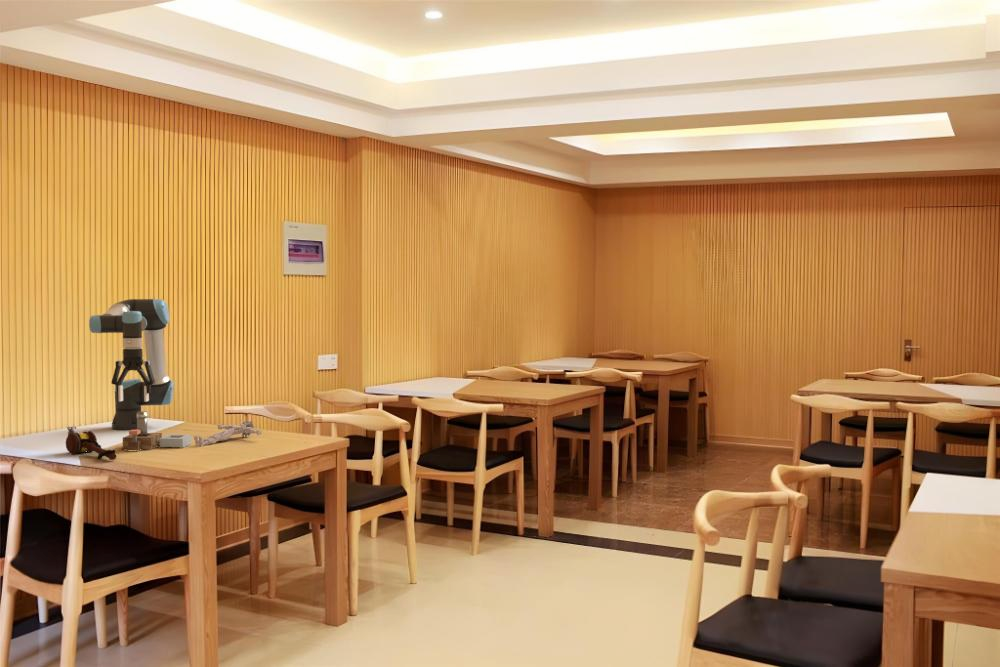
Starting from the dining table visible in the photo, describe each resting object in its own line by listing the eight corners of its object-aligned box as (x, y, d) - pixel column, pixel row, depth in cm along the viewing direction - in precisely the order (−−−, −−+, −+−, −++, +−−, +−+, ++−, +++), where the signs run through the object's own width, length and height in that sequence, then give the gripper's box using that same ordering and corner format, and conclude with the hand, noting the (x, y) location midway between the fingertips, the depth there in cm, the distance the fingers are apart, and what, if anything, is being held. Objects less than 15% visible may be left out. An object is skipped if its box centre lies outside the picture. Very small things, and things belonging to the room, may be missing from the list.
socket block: (134, 444, 388) (134, 432, 388) (162, 444, 388) (161, 433, 388) (118, 451, 372) (118, 439, 372) (147, 451, 372) (147, 439, 372)
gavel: (125, 466, 356) (101, 469, 348) (85, 448, 378) (61, 451, 370) (126, 441, 355) (101, 444, 347) (86, 424, 377) (62, 427, 369)
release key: (132, 442, 376) (132, 429, 376) (140, 442, 376) (140, 429, 376) (129, 444, 373) (128, 431, 372) (137, 444, 373) (137, 431, 372)
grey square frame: (168, 443, 390) (168, 434, 390) (191, 443, 390) (191, 434, 390) (159, 447, 380) (159, 438, 380) (183, 447, 380) (182, 438, 380)
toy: (177, 432, 392) (231, 414, 416) (179, 451, 394) (233, 431, 418) (218, 439, 377) (272, 419, 401) (221, 458, 378) (274, 437, 403)
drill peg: (139, 445, 385) (139, 411, 384) (149, 446, 385) (149, 411, 384) (135, 447, 380) (134, 412, 379) (145, 447, 380) (145, 413, 379)
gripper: (101, 348, 368) (102, 402, 370) (156, 348, 368) (157, 402, 369) (109, 347, 376) (110, 399, 377) (163, 347, 376) (164, 400, 377)
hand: (133, 401), depth 373 cm, fingers open, 10 cm apart
